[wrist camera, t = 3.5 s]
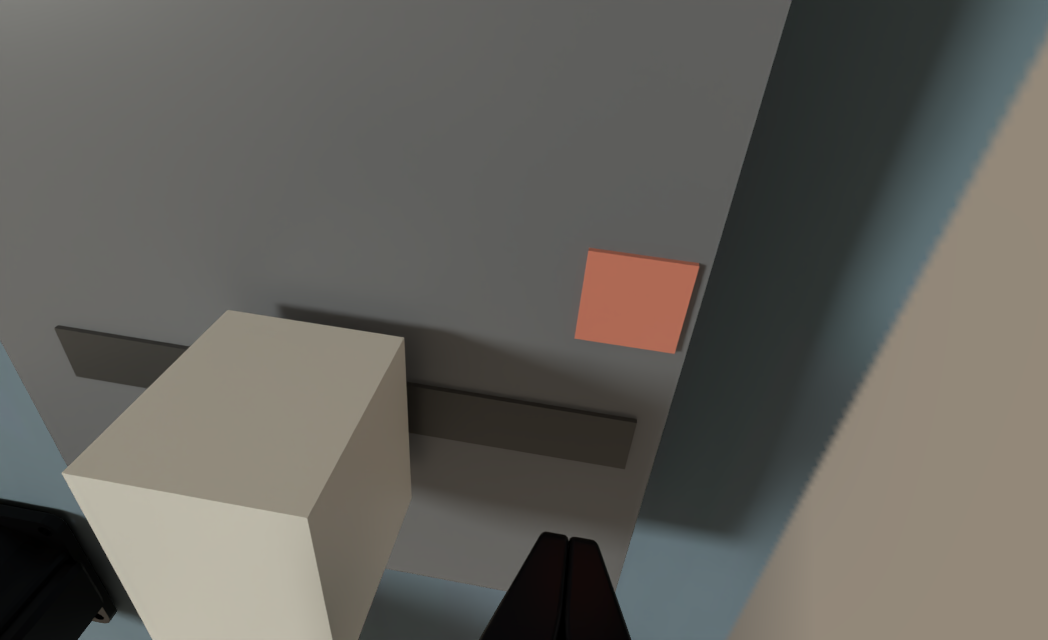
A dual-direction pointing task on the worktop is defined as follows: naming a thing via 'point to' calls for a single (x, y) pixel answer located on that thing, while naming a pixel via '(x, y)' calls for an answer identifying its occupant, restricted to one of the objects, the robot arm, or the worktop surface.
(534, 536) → the grey slider switch panel
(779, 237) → the worktop surface
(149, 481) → the cream matte cube
